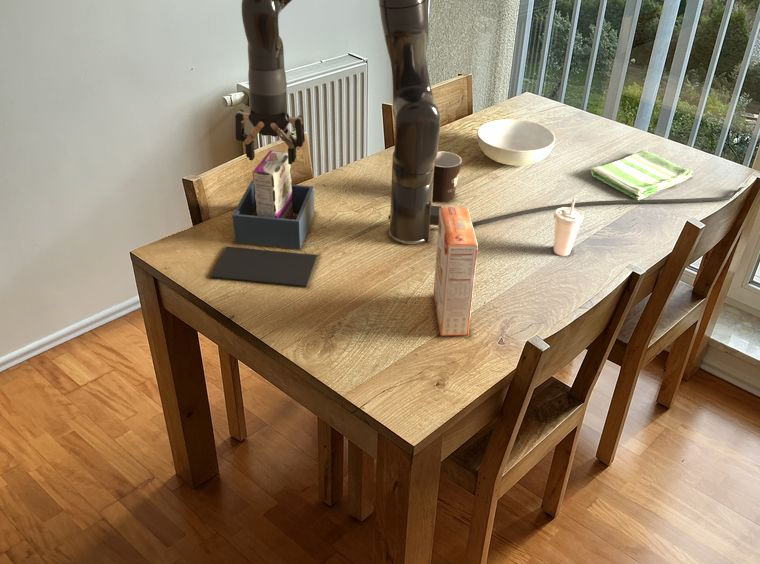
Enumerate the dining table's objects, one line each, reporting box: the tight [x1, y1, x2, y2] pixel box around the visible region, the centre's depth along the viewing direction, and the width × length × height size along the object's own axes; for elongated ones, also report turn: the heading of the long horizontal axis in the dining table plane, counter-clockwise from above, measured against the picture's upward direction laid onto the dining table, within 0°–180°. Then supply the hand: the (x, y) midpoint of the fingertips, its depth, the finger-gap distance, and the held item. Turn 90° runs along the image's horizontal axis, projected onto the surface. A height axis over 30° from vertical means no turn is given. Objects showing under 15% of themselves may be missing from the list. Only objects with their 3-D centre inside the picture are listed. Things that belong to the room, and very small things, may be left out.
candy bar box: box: [252, 150, 295, 219], centre depth 179 cm, size 11×5×16 cm, turn 168°
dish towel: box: [590, 150, 694, 200], centre depth 214 cm, size 18×23×3 cm
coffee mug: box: [433, 150, 463, 204], centre depth 198 cm, size 12×9×10 cm
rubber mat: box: [210, 246, 318, 288], centre depth 171 cm, size 20×12×1 cm, turn 85°
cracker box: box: [433, 206, 479, 337], centre depth 154 cm, size 14×6×21 cm, turn 5°
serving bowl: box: [476, 118, 556, 167], centre depth 218 cm, size 21×21×7 cm
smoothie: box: [553, 196, 584, 257], centre depth 178 cm, size 6×6×14 cm
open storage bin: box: [231, 180, 315, 250], centre depth 182 cm, size 15×17×7 cm
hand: (271, 160), depth 174 cm, fingers open, 8 cm apart
